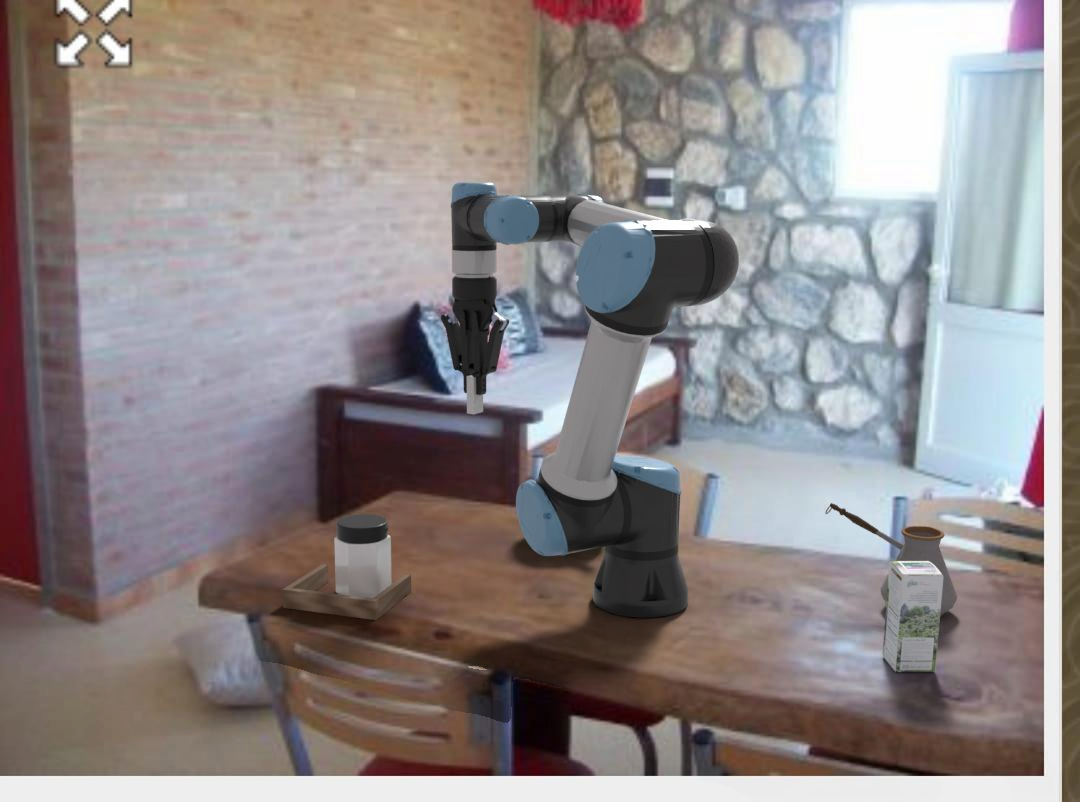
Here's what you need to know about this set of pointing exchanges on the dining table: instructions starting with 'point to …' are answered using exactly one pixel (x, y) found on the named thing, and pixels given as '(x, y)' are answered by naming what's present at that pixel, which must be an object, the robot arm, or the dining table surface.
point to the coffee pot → (913, 552)
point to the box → (341, 597)
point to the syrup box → (912, 616)
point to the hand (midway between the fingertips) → (475, 412)
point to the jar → (362, 555)
